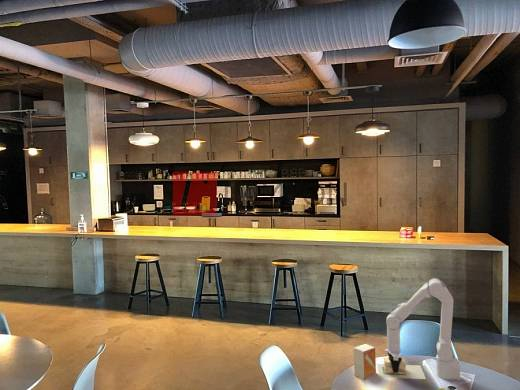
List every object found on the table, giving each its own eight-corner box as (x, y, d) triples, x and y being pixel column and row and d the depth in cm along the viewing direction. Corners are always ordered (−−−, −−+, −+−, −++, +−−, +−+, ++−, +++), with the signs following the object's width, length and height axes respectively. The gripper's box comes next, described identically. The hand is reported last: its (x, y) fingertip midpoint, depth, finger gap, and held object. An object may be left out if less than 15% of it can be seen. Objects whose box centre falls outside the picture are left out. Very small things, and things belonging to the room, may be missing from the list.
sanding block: (404, 368, 199) (403, 358, 199) (405, 373, 194) (405, 362, 194) (384, 368, 201) (384, 357, 201) (385, 372, 196) (385, 362, 196)
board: (420, 367, 202) (420, 365, 202) (426, 381, 188) (425, 379, 188) (377, 366, 206) (376, 364, 206) (379, 379, 192) (379, 377, 192)
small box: (364, 380, 192) (363, 351, 192) (354, 375, 198) (352, 347, 197) (376, 374, 197) (375, 347, 196) (366, 370, 202) (365, 343, 202)
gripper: (383, 334, 205) (384, 362, 205) (386, 346, 191) (387, 376, 191) (398, 335, 204) (399, 363, 204) (402, 346, 189) (403, 376, 190)
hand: (394, 369), depth 197 cm, fingers closed on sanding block, 5 cm apart
